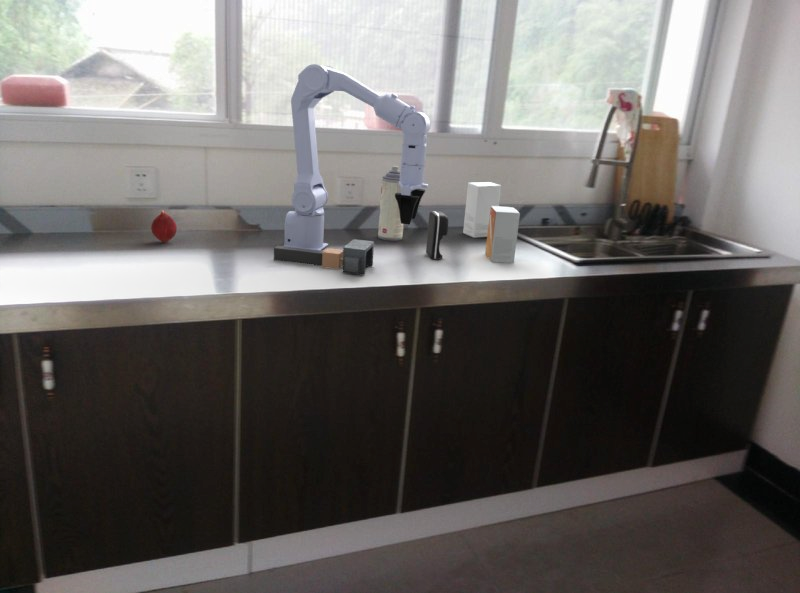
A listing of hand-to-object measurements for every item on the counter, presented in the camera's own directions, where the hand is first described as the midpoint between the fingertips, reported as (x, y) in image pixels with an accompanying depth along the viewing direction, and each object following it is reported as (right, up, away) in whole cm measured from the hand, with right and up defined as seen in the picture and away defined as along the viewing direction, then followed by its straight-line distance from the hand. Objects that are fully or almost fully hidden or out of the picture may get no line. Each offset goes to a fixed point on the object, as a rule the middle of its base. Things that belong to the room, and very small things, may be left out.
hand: (408, 220), depth 156 cm
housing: (-12, -12, -7) cm, 18 cm away
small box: (+24, -9, +12) cm, 28 cm away
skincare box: (+22, 0, +38) cm, 44 cm away
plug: (-23, -11, -6) cm, 26 cm away
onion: (-60, -5, +2) cm, 60 cm away
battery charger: (+7, -8, +9) cm, 14 cm away
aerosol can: (-5, -2, +26) cm, 26 cm away
